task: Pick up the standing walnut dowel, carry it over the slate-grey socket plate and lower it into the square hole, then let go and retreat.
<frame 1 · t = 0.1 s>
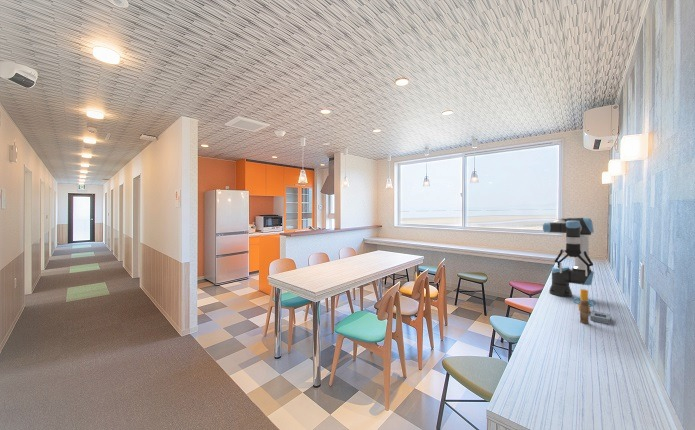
hand: (573, 274, 186), 28 cm above the worktop, fingers open, 13 cm apart
socket plate: (600, 319, 179), on the worktop
peg: (584, 322, 175), on the worktop
yellow and blue toy: (584, 311, 194), on the worktop
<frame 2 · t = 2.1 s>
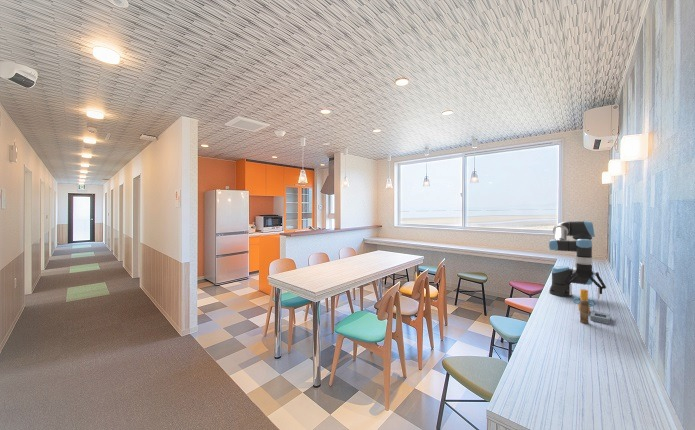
hand: (584, 296, 174), 17 cm above the worktop, fingers open, 13 cm apart
nothing on the worktop moved.
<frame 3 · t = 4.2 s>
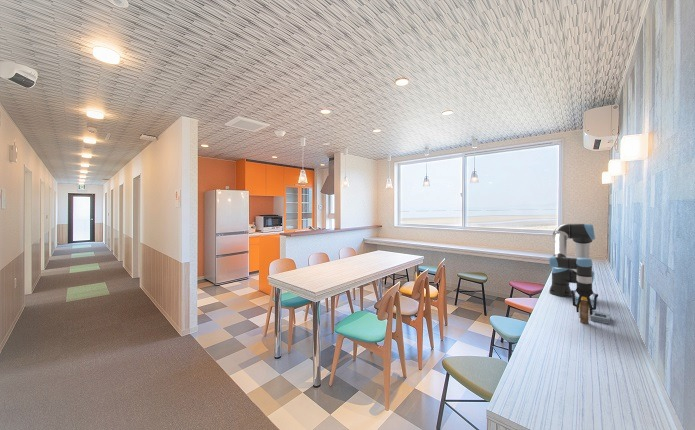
hand: (584, 318, 175), 3 cm above the worktop, fingers closed on peg, 4 cm apart
peg: (584, 322, 175), on the worktop, touching gripper
everything else where it was.
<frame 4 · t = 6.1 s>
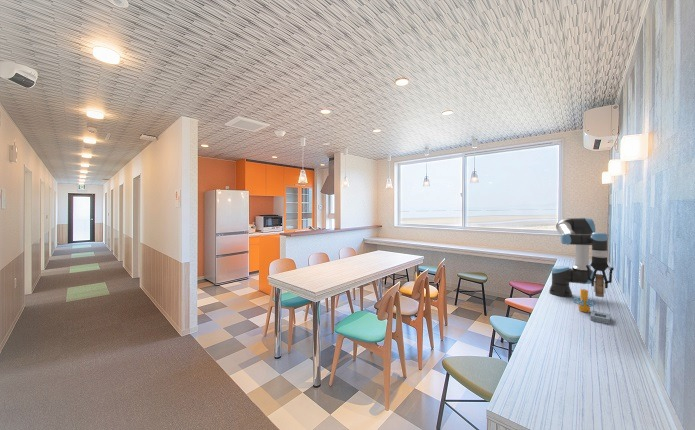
hand: (599, 292, 178), 18 cm above the worktop, fingers closed on peg, 4 cm apart
peg: (599, 296, 178), point 16 cm above the worktop, touching gripper
everything else where it was.
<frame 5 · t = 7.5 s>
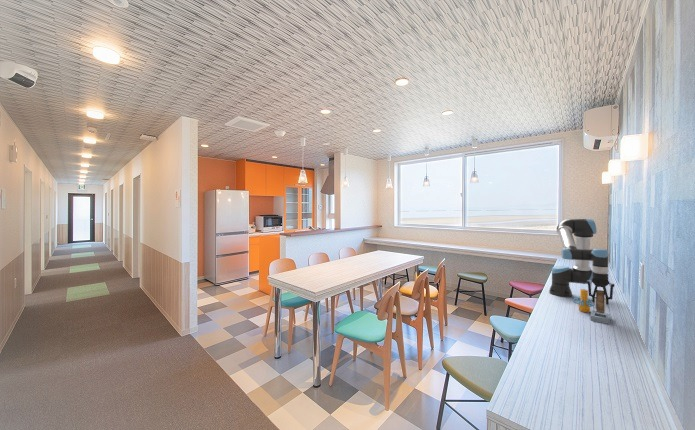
hand: (600, 308, 178), 8 cm above the worktop, fingers closed on peg, 4 cm apart
peg: (600, 312, 178), point 5 cm above the worktop, touching gripper
everything else where it was.
when the fingers open (5 cm above the worktop, at t = 8.4 s): peg stays where it is, resting in socket plate.
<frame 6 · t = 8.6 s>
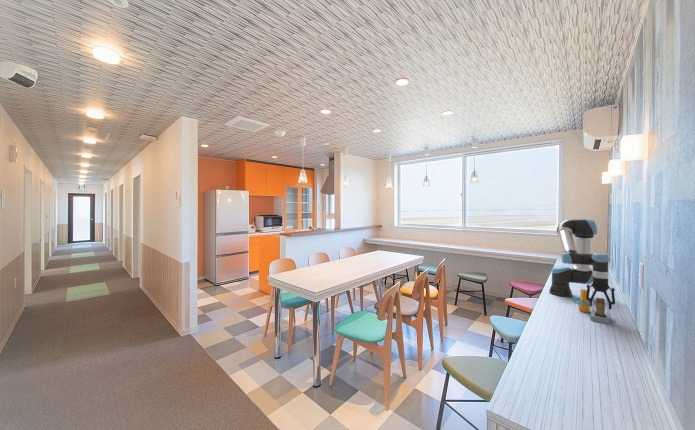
hand: (600, 312, 178), 5 cm above the worktop, fingers open, 7 cm apart
peg: (600, 319, 178), resting in socket plate
everything else where it was.
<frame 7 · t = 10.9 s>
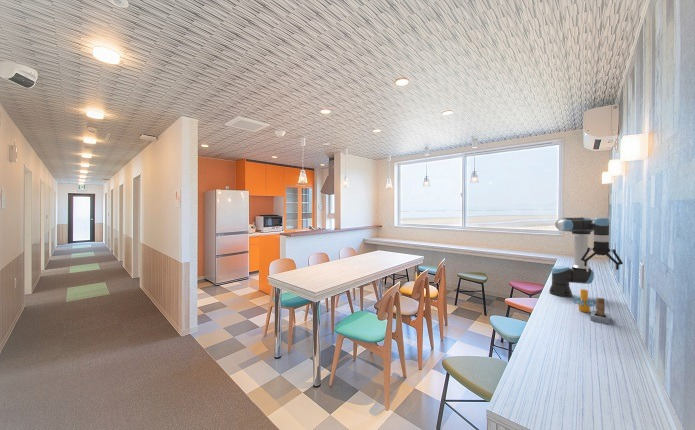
hand: (601, 272, 182), 30 cm above the worktop, fingers open, 13 cm apart
nothing on the worktop moved.
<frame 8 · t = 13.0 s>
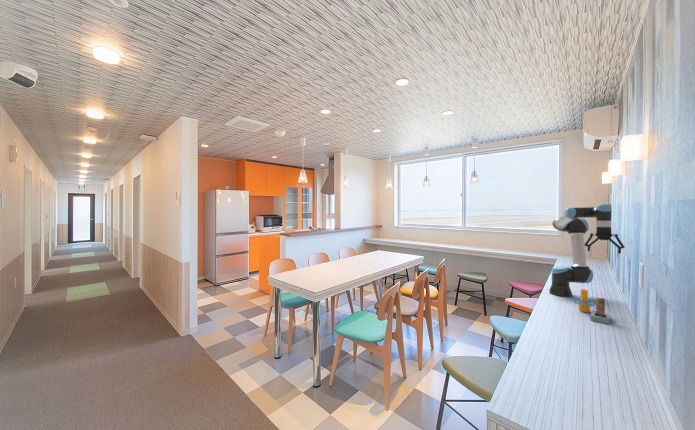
hand: (603, 257, 189), 39 cm above the worktop, fingers open, 13 cm apart
nothing on the worktop moved.
at the end: peg 0.0 cm from the target spot on the socket plate, point 0.0 cm above the socket plate's base; peg tilted 0°; the gripper is holding nothing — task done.
